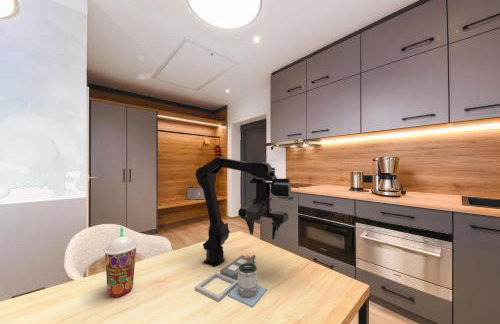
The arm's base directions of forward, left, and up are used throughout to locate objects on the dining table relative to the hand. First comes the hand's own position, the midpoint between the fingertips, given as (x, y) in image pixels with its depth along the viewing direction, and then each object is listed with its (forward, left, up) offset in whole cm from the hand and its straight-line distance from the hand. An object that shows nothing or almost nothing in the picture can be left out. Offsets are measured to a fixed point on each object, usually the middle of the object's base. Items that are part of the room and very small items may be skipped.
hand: (262, 237), depth 73 cm
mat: (+2, -13, -13) cm, 18 cm away
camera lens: (+2, -13, -13) cm, 18 cm away
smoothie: (-32, -34, -13) cm, 49 cm away
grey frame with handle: (-8, -7, -13) cm, 17 cm away
